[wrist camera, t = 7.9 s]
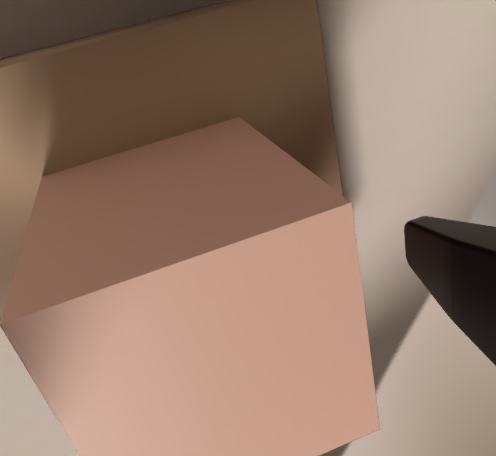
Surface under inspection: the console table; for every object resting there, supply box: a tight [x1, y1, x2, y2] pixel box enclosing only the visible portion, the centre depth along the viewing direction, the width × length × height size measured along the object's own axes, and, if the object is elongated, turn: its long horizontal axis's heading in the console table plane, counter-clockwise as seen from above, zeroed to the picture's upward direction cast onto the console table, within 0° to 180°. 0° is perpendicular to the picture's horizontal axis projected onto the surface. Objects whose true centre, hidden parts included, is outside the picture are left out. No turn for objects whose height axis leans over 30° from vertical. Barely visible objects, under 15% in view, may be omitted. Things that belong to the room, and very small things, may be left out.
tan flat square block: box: [0, 0, 342, 321], centre depth 14 cm, size 10×10×3 cm
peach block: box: [0, 117, 380, 456], centre depth 10 cm, size 5×5×6 cm
